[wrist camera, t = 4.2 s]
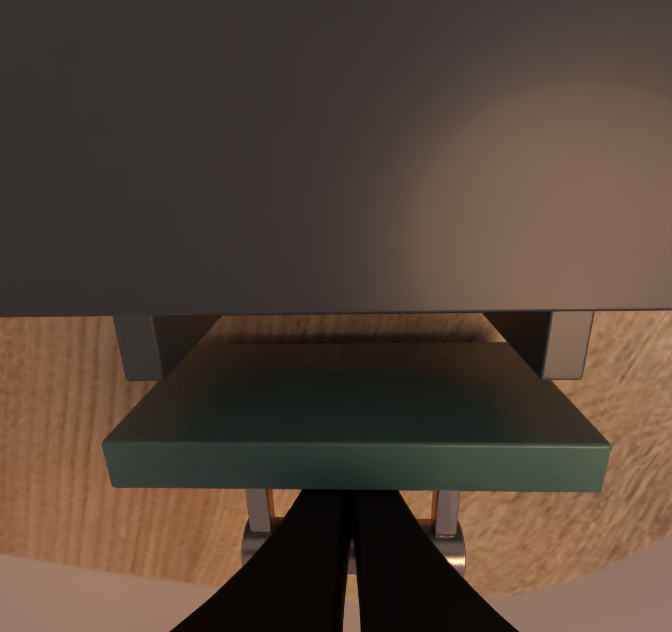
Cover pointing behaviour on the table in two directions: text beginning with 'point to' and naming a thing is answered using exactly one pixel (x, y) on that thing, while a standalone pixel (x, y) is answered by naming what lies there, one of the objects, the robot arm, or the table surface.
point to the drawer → (358, 417)
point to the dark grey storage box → (334, 156)
